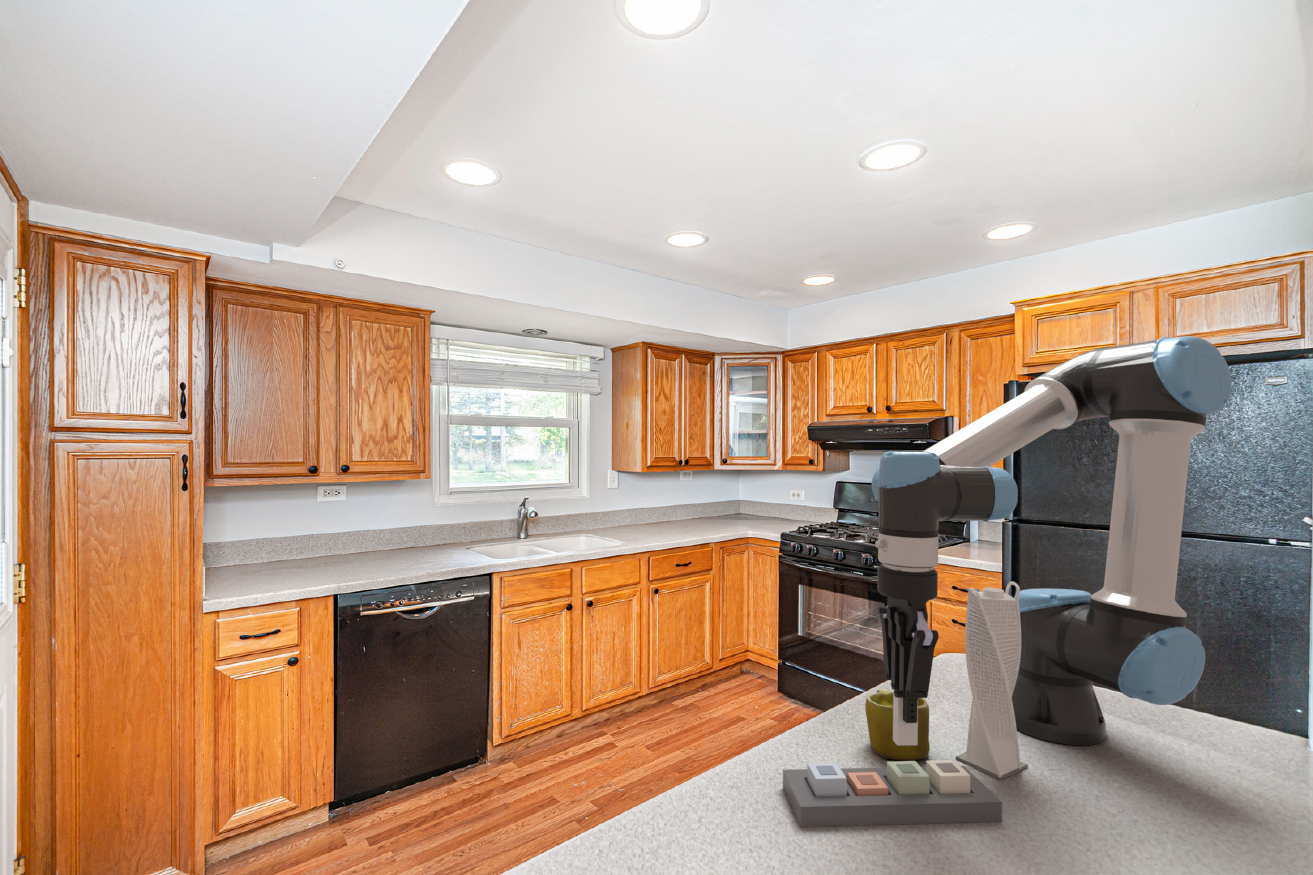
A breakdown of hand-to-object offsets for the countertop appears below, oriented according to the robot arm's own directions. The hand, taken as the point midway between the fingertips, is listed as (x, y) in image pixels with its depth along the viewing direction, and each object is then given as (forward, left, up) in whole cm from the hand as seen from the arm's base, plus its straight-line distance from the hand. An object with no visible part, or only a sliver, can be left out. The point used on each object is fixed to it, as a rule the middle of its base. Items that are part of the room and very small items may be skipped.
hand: (905, 742), depth 84 cm
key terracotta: (+5, 0, -8) cm, 9 cm away
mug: (-6, -16, -8) cm, 19 cm away
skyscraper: (-18, -9, -8) cm, 21 cm away
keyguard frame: (+2, 0, -8) cm, 9 cm away
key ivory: (-6, 0, -7) cm, 9 cm away
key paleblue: (+11, 0, -7) cm, 12 cm away
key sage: (0, 0, -7) cm, 7 cm away
